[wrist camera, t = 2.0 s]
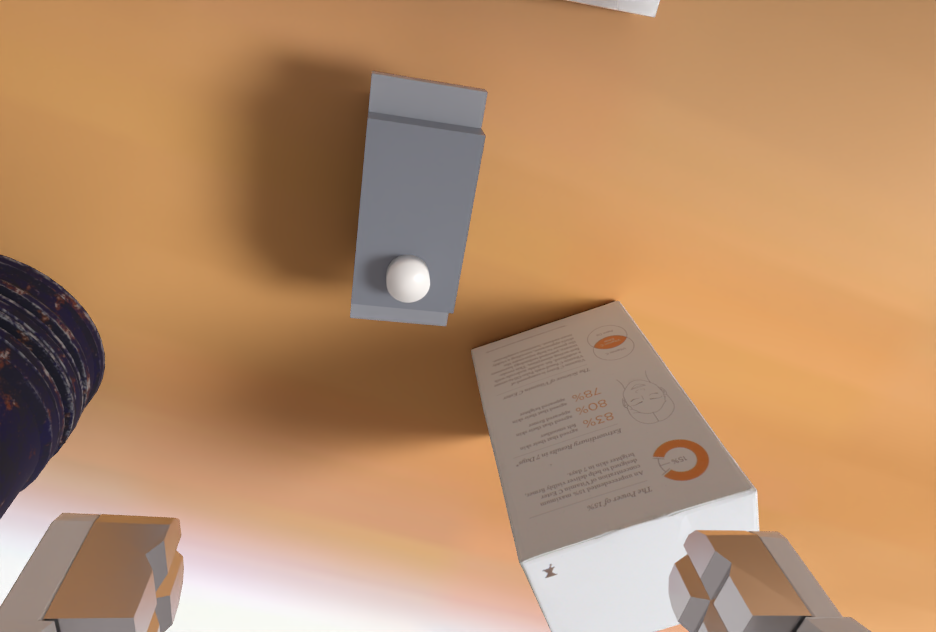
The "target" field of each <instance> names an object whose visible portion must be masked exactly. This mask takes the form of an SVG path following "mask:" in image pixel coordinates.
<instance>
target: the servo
mask: <svg viewBox="0 0 936 632" xmlns="http://www.w3.org/2000/svg"><path fill="white" fill-rule="evenodd" d="M487 93H488V92H487V91H486V90H485V89H480V88H473V87H467V86H461V85H455V84H449V83H443V82H437V81H431V80H425V79H419V78H413V77H407V76H400V75H394V74H388V73H382V72H376V71H372V78H371V89H370V100H369V111H368V120H367V131H366V142H365V153H364V165H363V176H362V187H361V198H360V209H359V221H358V232H357V243H356V254H355V266H354V277H353V288H352V299H351V313H350V318H358V319H370V320H381V321H392V322H403V323H415V324H426V325H437V326H446V324H447V319H448V313H453V312H454V307H455V301H456V296H457V290H458V285H459V279H460V274H461V268H462V263H463V257H464V252H465V246H466V241H467V235H468V230H469V224H470V219H471V213H472V208H473V202H474V197H475V191H476V185H477V180H478V174H479V169H480V163H481V158H482V152H483V147H484V141H485V134H484V132H483V131H482V129H481V127H482V121H483V115H484V110H485V104H486V98H487Z"/></svg>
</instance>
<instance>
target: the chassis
mask: <svg viewBox="0 0 936 632" xmlns="http://www.w3.org/2000/svg"><path fill="white" fill-rule="evenodd" d="M565 1H570V2H575V3H580V4H585V5H591V6H596V7H601V8H606V9H611V10H616V11H621V12H626V13H631V14H637V15H643V16H649V17H655V16H656V12H657V9H658V5H659V2H660V0H565Z"/></svg>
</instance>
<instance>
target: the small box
mask: <svg viewBox="0 0 936 632" xmlns="http://www.w3.org/2000/svg"><path fill="white" fill-rule="evenodd" d="M471 354H472V359H473V364H474V368H475V373H476V378H477V382H478V387H479V392H480V397H481V401H482V406H483V411H484V415H485V419H486V423H487V427H488V431H489V435H490V439H491V444H492V448H493V452H494V456H495V460H496V464H497V468H498V473H499V477H500V481H501V486H502V490H503V494H504V499H505V503H506V507H507V512H508V516H509V520H510V525H511V529H512V533H513V537H514V541H515V546H516V551H517V555H518V560H519V563H520V565H521V567H522V569H523V571H524V573H525V575H526V577H527V579H528V581H529V583H530V586H531V588H532V590H533V592H534V594H535V597H536V599H537V601H538V603H539V606H540V608H541V610H542V612H543V614H544V617H545V619H546V621H547V623H548V626H549V628H550V630H551V632H656V631H659V630H662V629H665V628H669V627H672V626H675V625H678V624H680V623H679V622H678V621H677V618H676V616H675V614H674V612H673V609H672V607H671V603H670V598H669V594H668V588H669V575H670V573H671V570H672V568H673V566H674V563H676V562H677V561H678V560H680V559H681V558H683V557H684V556H685V555H687V553H686V550H685V548H684V546H683V545H684V543H685V541H686V539H687V537H688V535H689V534H691V533H692V532H694V531H695V530H735V531H759V518H758V500H757V489H756V488H755V487H754V485H753V484H752V483H751V482H750V480H749V479H748V478H747V476H746V475H745V474H744V472H743V471H742V470H741V468H740V467H739V466H738V464H737V463H736V461H735V460H734V459H733V457H732V456H731V455H730V453H729V452H728V451H727V449H726V448H725V447H724V445H723V444H722V443H721V441H720V440H719V438H718V437H717V435H716V434H715V433H714V431H713V430H712V429H711V427H710V426H709V424H708V423H707V422H706V420H705V419H704V417H703V416H702V415H701V413H700V412H699V410H698V409H697V408H696V406H695V405H694V403H693V402H692V401H691V399H690V398H689V397H688V395H687V394H686V393H685V391H684V390H683V388H682V387H681V386H680V384H679V383H678V382H677V380H676V379H675V377H674V376H673V374H672V373H671V372H670V370H669V369H668V367H667V366H666V365H665V363H664V362H663V360H662V359H661V357H660V356H659V355H658V353H657V352H656V351H655V349H654V348H653V346H652V345H651V343H650V342H649V341H648V339H647V338H646V337H645V335H644V334H643V333H642V331H641V330H640V328H639V327H638V326H637V324H636V323H635V322H634V320H633V319H632V317H631V316H630V315H629V313H628V312H627V311H626V309H625V308H624V307H623V305H622V304H621V303H620V302H619V301H614V302H611V303H609V304H606V305H603V306H600V307H597V308H594V309H591V310H588V311H585V312H582V313H579V314H576V315H573V316H570V317H567V318H564V319H561V320H558V321H555V322H552V323H549V324H546V325H543V326H540V327H537V328H534V329H531V330H528V331H525V332H522V333H519V334H516V335H513V336H510V337H507V338H504V339H501V340H499V341H495V342H492V343H489V344H486V345H484V346H481V347H478V348H474V349H472V350H471Z"/></svg>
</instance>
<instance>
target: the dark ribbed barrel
mask: <svg viewBox="0 0 936 632" xmlns="http://www.w3.org/2000/svg"><path fill="white" fill-rule="evenodd" d="M104 369H105V354H104V349H103V345H102V340H101V338H100V335H99V333H98V331H97V328H96V326H95V325H94V323H93V321H92V320H91V318H90V317H89V315H88V313H87V312H86V311H85V310H84V308H83V307H82V306H81V305H80V304H79V303H78V301H77V300H76V299H75V298H74V297H73V296H72V295H71V294H69V293H68V292H67V291H66V290H65V289H64V288H63V287H62V286H60V285H59V284H57V283H56V282H55V281H53V280H52V279H50V278H49V277H48V276H46V275H45V274H43V273H41V272H39V271H37V270H35V269H34V268H32V267H30V266H28V265H26V264H24V263H21V262H19V261H16V260H14V259H12V258H9V257H6V256H2V255H0V519H1V517H2V516H3V515H4V513H5V512H6V510H7V509H8V507H9V506H10V505H11V503H12V502H13V500H14V499H15V498H16V496H17V495H18V493H19V492H20V491H22V490H24V489H25V488H26V487H27V486H28V485H30V484H31V483H32V482H33V481H34V480H35V479H36V478H37V477H38V475H39V474H40V473H41V471H42V470H43V468H44V467H45V466H46V464H47V463H48V461H49V460H50V459H51V458H52V457H53V456H54V455H55V454H56V453H57V452H58V451H59V450H60V448H61V447H62V446H63V444H64V443H65V441H66V440H67V439H68V437H69V436H70V434H71V433H72V431H73V430H74V428H75V427H76V425H77V422H78V420H79V418H80V416H81V414H82V412H83V410H84V408H85V407H86V406H87V404H88V403H89V402H90V400H91V399H92V398H93V396H94V395H95V393H96V392H97V390H98V388H99V386H100V384H101V381H102V379H103V374H104Z"/></svg>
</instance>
